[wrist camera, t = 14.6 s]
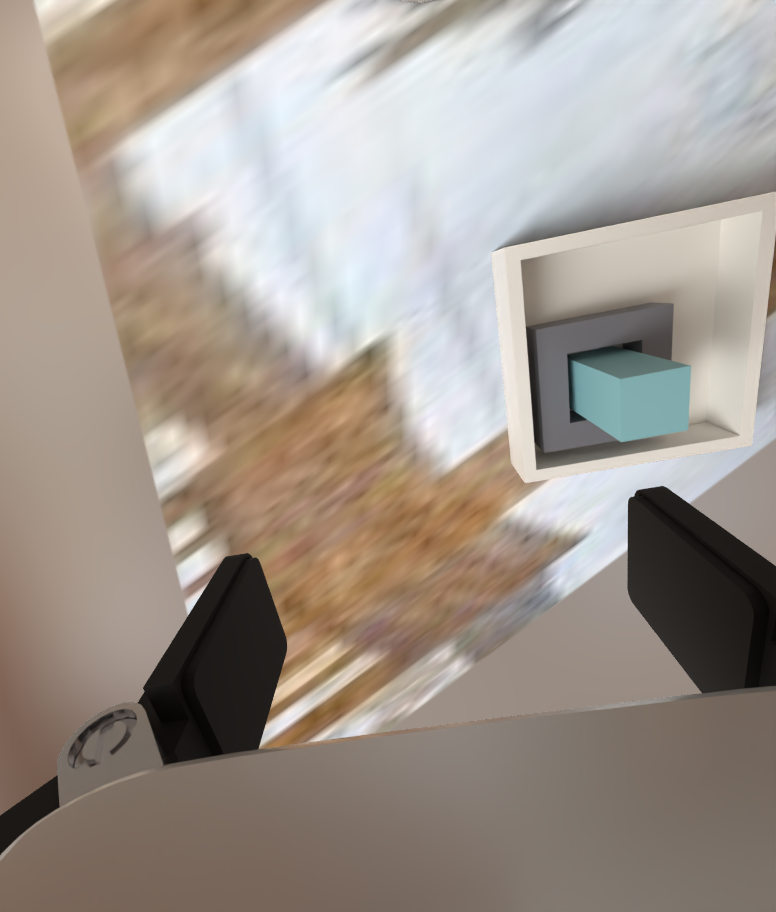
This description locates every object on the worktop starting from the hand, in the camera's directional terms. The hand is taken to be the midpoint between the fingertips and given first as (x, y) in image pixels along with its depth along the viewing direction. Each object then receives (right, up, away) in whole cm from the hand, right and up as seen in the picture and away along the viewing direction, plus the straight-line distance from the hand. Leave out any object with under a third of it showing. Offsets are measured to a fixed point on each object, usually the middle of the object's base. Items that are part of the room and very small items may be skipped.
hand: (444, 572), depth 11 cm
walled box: (+17, +12, +26) cm, 33 cm away
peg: (+15, +10, +26) cm, 32 cm away
